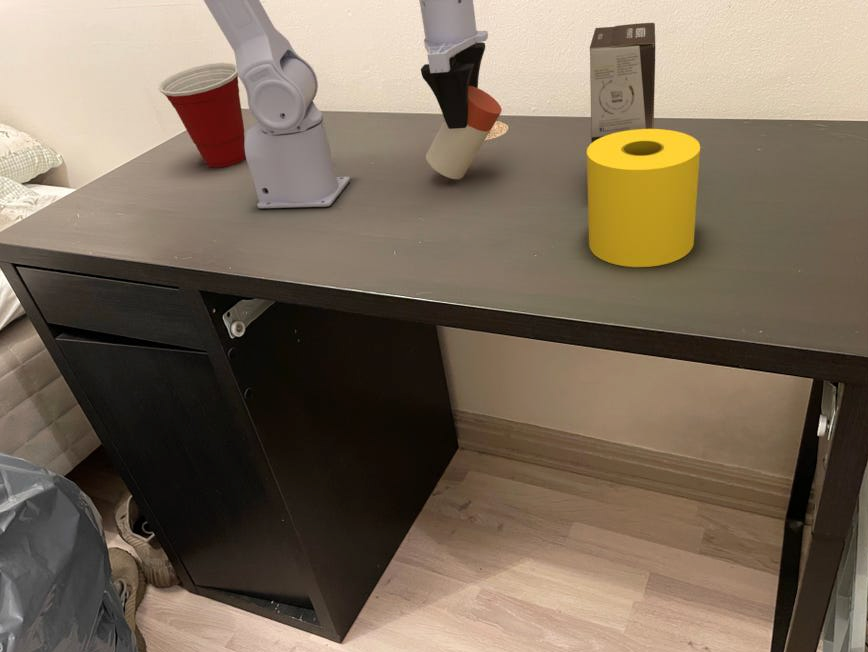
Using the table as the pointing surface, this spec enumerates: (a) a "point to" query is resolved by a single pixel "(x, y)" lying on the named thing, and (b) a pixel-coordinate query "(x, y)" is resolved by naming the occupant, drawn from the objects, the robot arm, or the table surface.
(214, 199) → the table surface
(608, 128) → the coffee box
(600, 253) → the yellow paper roll
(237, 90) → the plastic cup
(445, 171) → the container
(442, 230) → the table surface
